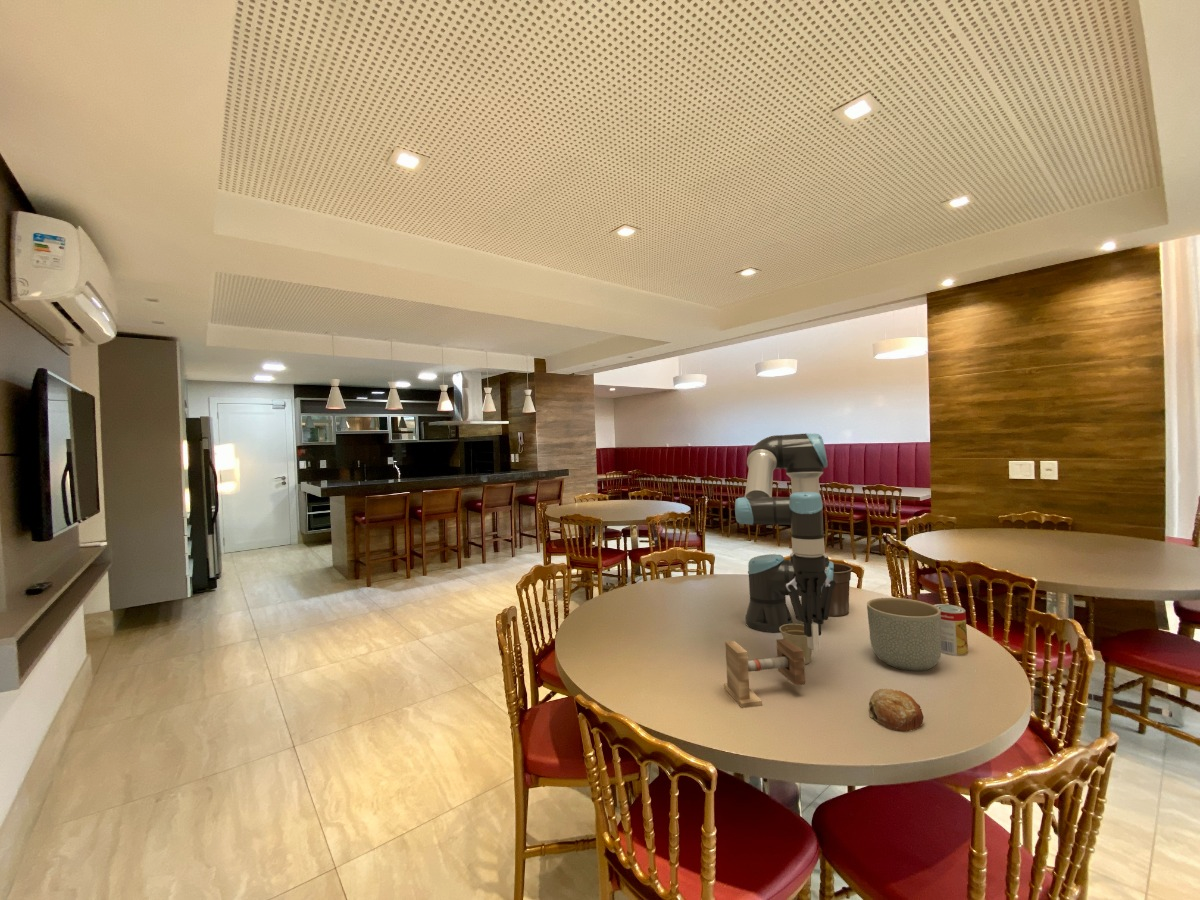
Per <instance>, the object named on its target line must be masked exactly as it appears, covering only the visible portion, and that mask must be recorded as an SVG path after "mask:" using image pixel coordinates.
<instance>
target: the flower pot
mask: <svg viewBox="0 0 1200 900" xmlns="http://www.w3.org/2000/svg"><path fill="white" fill-rule="evenodd" d="M779 630H780V631H781V632H780V634H781V637H782V639H787V640H788V641H790V642H791V643H793V644H794V645H796V646H797V647H799V648H800V649H802V650H803V653H804V658H805V665H808V664H809V663H810V662H812V651H813V650H811V649H810V648H808V644H807V636H806V635H805V634H804V624H799V623H792V624H785V625H782V626H781V627H780V628H779Z"/></svg>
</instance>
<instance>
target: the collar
mask: <svg viewBox="0 0 1200 900" xmlns="http://www.w3.org/2000/svg"><path fill="white" fill-rule="evenodd" d="M776 654H777V657H785V656H787V657H788V658H789V667H784V668H777V671H778V672H779V673H780V675H782V676H783V677H784V678H786V679H787V680H788V681H790V682H791V683H792V684H793V685H794V686H795V687H796V686H803V685H806V675H805V673H806V672H805V671H806V670H805V665H804V653H803V650H802V649H800V648H799V647H797V646H796V645H794V644H793V643H791V642H790V641H788V640H787V639H783V638H780V639H776ZM777 657H776V658H777Z"/></svg>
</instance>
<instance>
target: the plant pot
mask: <svg viewBox="0 0 1200 900" xmlns="http://www.w3.org/2000/svg"><path fill="white" fill-rule="evenodd" d="M833 564H834V568H833V581H835V582H836V585H835V587H834V589H833V591H832V597H831V604H830V610H829V616H828V617H843V616H846V615H847V614H849V613H850V608H849V607H850V582H851V576H852V571H853V566H852V567H851V566H850V565H847V564H842V563H837V562H836V563H834V562H833ZM820 598H821V597H820Z"/></svg>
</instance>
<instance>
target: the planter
mask: <svg viewBox="0 0 1200 900" xmlns="http://www.w3.org/2000/svg"><path fill="white" fill-rule="evenodd" d="M934 605H935V604H931V603H928V602H925V601H920V600H916V599H910V598H904V597H903V598H902V597H901V598H900V597H879V598H873V599H870V600H869V601H867V603H866V609H867V619H868V631H869V639H870V645H871V648H872V650H873V652H874V654H875V655H876V656H877V658H879V660H881V661H882V662H884V663H885V664H886V665H888V666H891V667H894V668H896V669H900V670H904V671H909V672H921V671H927V670H929V669H932V668H934V667H935V666H936V665H937V664H938V663H939V661H940V660H941V656H942V653H941V611H940V609H939V608H937V607H936V606H934Z"/></svg>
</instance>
